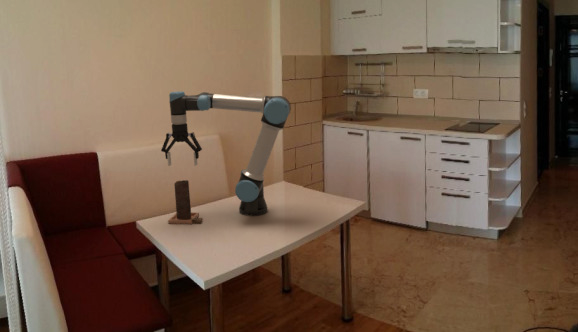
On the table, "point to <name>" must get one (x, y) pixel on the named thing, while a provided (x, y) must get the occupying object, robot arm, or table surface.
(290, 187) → the table surface
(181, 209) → the dark brown tall piece
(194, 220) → the matchbox
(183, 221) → the dish
